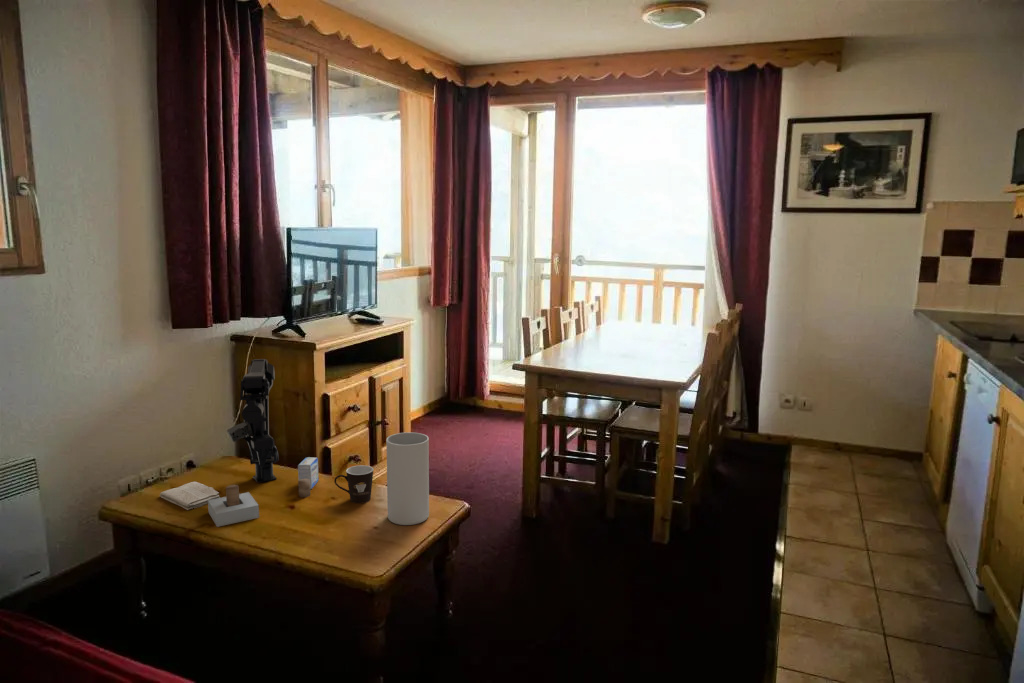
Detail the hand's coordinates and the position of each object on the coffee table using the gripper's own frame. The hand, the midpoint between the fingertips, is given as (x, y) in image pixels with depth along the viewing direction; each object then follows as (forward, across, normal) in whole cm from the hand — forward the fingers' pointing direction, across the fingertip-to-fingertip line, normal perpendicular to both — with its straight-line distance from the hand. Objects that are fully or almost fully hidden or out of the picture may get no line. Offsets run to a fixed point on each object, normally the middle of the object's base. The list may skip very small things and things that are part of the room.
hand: (257, 461), depth 218 cm
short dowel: (+12, +5, +13) cm, 19 cm away
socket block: (+12, +9, -10) cm, 18 cm away
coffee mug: (+13, +17, +26) cm, 34 cm away
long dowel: (+12, +9, -10) cm, 18 cm away
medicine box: (+13, -3, +17) cm, 21 cm away
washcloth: (+13, -12, -18) cm, 26 cm away
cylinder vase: (+13, +39, +34) cm, 53 cm away
